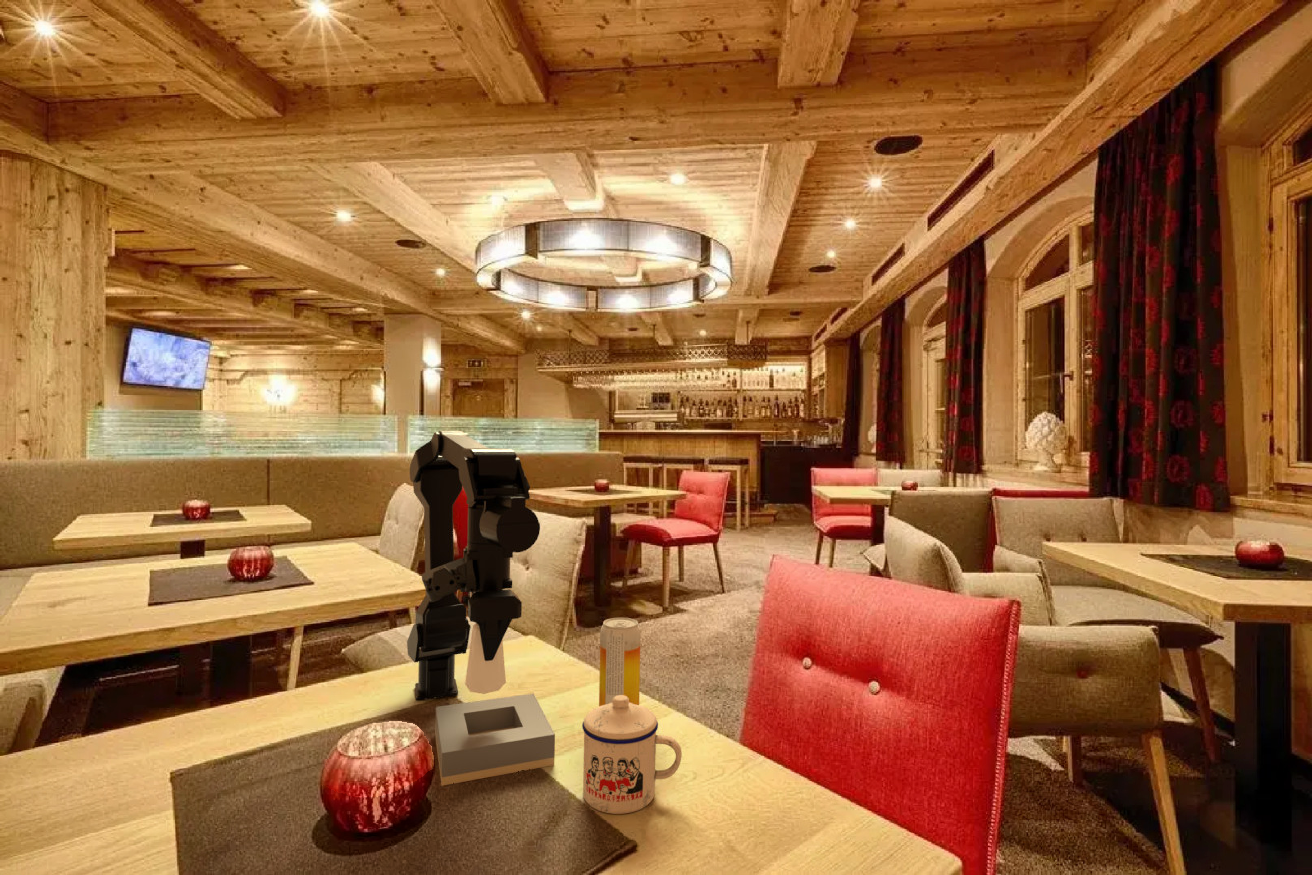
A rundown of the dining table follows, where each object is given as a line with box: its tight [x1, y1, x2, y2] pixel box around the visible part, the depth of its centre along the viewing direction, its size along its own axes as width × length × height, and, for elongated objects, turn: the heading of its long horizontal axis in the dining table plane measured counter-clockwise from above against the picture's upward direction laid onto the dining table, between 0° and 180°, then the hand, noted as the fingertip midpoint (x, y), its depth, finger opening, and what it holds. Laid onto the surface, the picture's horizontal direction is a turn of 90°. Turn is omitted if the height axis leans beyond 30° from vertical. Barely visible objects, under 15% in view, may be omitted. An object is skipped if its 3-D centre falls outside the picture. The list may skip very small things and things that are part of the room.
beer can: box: [598, 617, 642, 707], centre depth 95 cm, size 6×6×15 cm
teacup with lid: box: [582, 695, 682, 815], centre depth 75 cm, size 12×9×12 cm
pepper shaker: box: [464, 623, 507, 695], centre depth 85 cm, size 5×5×11 cm
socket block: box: [434, 692, 556, 787], centre depth 86 cm, size 14×14×4 cm
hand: (487, 655), depth 85 cm, fingers closed on pepper shaker, 4 cm apart
